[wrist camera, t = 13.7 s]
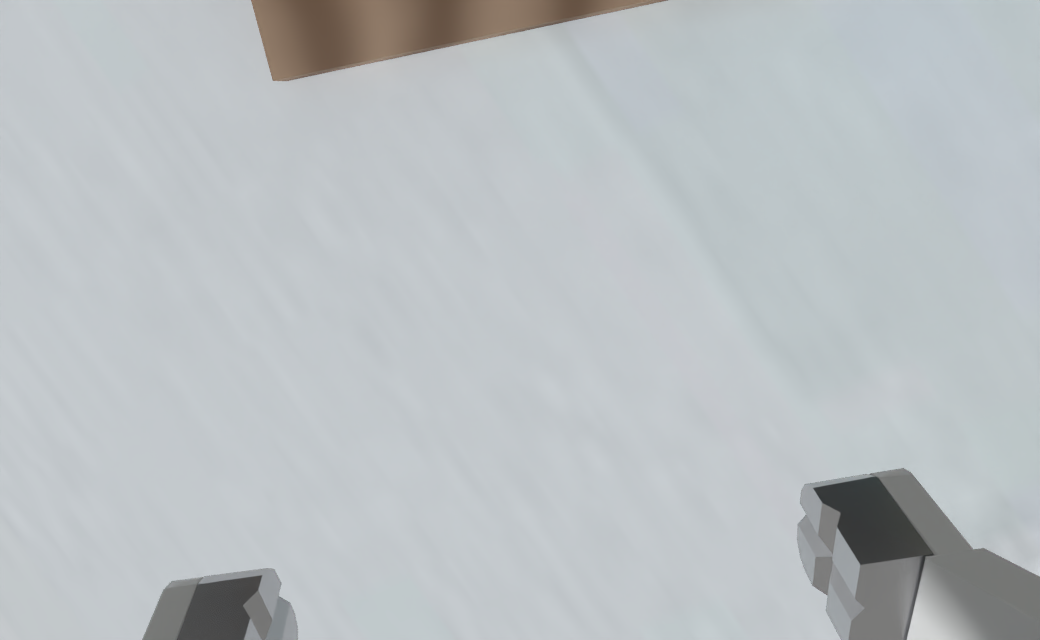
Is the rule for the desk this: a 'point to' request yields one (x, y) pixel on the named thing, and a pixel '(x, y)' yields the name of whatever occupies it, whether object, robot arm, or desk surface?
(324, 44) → the base board
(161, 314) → the desk surface
